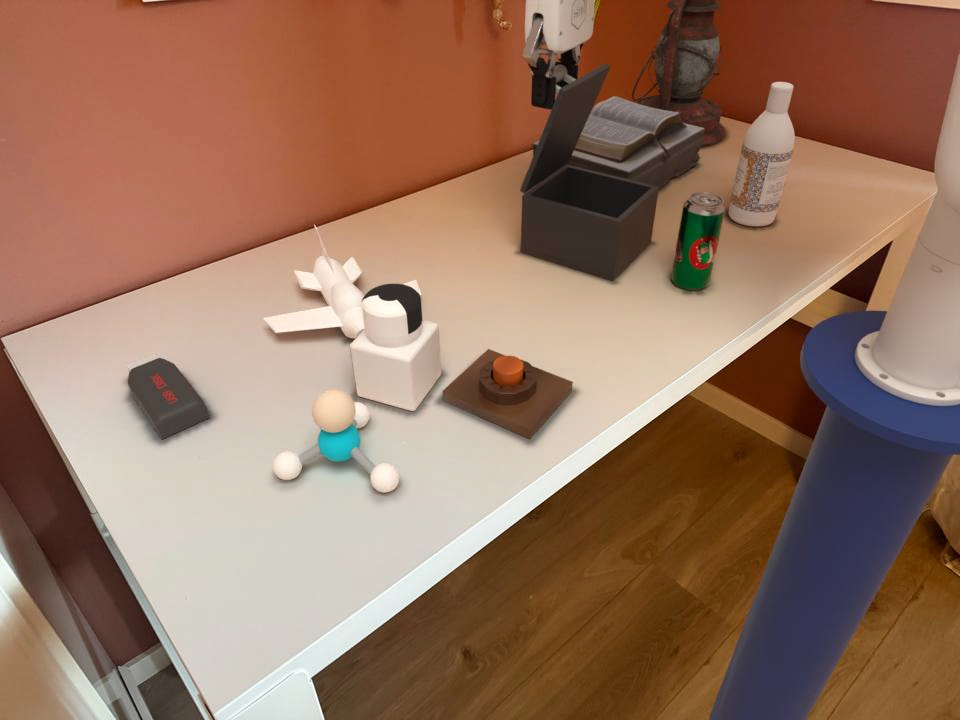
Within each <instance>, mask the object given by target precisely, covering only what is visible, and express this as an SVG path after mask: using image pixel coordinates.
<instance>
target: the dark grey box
mask: <svg viewBox="0 0 960 720" xmlns="http://www.w3.org/2000/svg"><path fill="white" fill-rule="evenodd" d="M659 190H660V189H659V187H658V186H654V185H650V184H646V183H641V182H637V181H633V180H629V179H625V178H621V177H616V176H612V175H608V174H604V173H600V172H596V171H592V170H587V169H583V168H579V167H575V166H571V165H565V166H563V167H562V168H560V169H559V170H558V171H556V172H555V173H553V174H552V175H551V176H549V177H548V178H546V179H545V180H543V181H542V182H540V183H539V184H537V185H536V186H534V187H533V188H532V189H530V190H529V191H527V192H526V193H525V194H524V193H523V194H522V195H521V221H520V222H521V225H520V227H521V228H520V253H521V254H525V255H528V256H532V257H534V258H537V259H541V260H544V261H548V262H551V263H554V264H557V265H560V266H563V267H567V268H570V269H573V270H577V271H579V272H583V273H584V274H585V273H586V274H589V275H592V276H595V277H599V278H602V279H604V280H608V281H611V282H614V281H615V280H616V279H617V278H618V277H619V276H620V275H621V274H622V273H623V272H624V271H625V270H626V269H627V268H628V266H630V265H631V263H633V262H634V260H636V259H637V258H638V256H639V255H641V254H642V253H643V252H644V251H645V250H646V248H647V247H649V245H650V244H651V243H652V237H653V231H654V223H655V216H656V211H657V203H658V197H659Z"/></svg>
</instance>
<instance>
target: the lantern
mask: <svg viewBox="0 0 960 720" xmlns="http://www.w3.org/2000/svg"><path fill="white" fill-rule="evenodd" d="M666 6H667V8H669V9H671V11H670V13H669V16H668V19H667V22H666V24H665V25H664V26H663V28H662V30H661V31H660V36H659V38H658V41H657V44H656V45H655V46H654V47H652V49H651V54H650V56H649V57H648V59H647V61H646V62H645V64H644V66H643V68H642V69H641V71H640V73H639V75H638V77H637V79H636V81H635V83H634V86H633V89H632V91H631V98H632V100H633V102H636V103H637V104H640V105H644V106H647V107H651V108H655V109H660V110H666V111H672V112H678V113H679V114H680V118H681V120H682V122H683V123H685V124H689V125H694V126H698V127H702V128H704V129H705V131H704V134H703V141H702V145H701V148H705V147H709V146H712V145H716V144H718V143H720V142H721V141H723V139H724V138H725V136H726V128H725V127H724V126H723V124H722V123H721V122H720V121H721V117H722V108H721V106H720V105H719V104H717V103H716V102H714V101H713V100H711V99H710V100H709V99H706V98H703V97H701V96H702V95H703V93H704V91H705V89H706V88H707V86H709V84H710V83H711V81H712V80H713V79H714V78H715V76H719V75H720V74H721V68H720V67H721V64H722V60H723V59H722V58H723V52H722V51H723V50H722V47H721V44H720V37H719V35H720V33H719V29H718V27H717V26H716V25H715V23H714V19H715V13H716V11H718V10H721V9H722V7H723V5H722V4H721V3H720V2H717V1H716V0H669V1H668V2H666ZM719 53H720V62H719V64H718V63H717V62H718V58H719ZM653 61H654V74H655V80H656V82H655V83H654V82H653V80H652V77H651V74H650V68H651V65H652V63H653ZM648 65H649V66H648ZM647 66H648V75H649V79H650V82H651V84H652V85H653V86H652V87H651V88H650V89H649V90H647V92H645V93H644V94H643V95H642V96H640V97H638V98H635V92H636V89H637V87H638V84H639V81H640V79H641V77H642V76H643V74H644V72H645V70H646V68H647ZM716 67H717V70H716V71H715V69H716ZM657 86H658V88H657ZM654 89H656V91H657V93H658V94H655V95H650V96H648V95H649V94H650V93H651V92H652V91H653V90H654ZM646 96H647V97H646Z"/></svg>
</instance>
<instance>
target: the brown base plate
mask: <svg viewBox="0 0 960 720" xmlns="http://www.w3.org/2000/svg"><path fill="white" fill-rule="evenodd" d="M501 356H506V355H505V354H503V353H500V352H497V351H495V350H492V349H490V348H488V349H487V350H485V351H484V352H483V353H481V355H480V356H478V358H477V359H475V361H474V362H472V363H471V364H470V365H469V366H468V367H467V368H466V369H464V371H462V372H461V373H460V374H459V375H458V376H457V377H456V378H455V379H454V380H453V381H451V382H450V383H449V384H448V385H447V386H446V387H445V388H444V389H443V390H442V401H443V402H445V403H448V404H450V405H452V406H454V407H456V408H459V409H461V410H464V411H466V412H468V413H470V414H473V415H475V416H476V417H479V418H481V419H483V420H486V421H488V422H490V423H492V424H494V425H497V426H499V427H501V428H504V429H506V430H508V431H510V432H512V433H515V434H517V435H520V436H522V437H524V438H526V439H529V440H531V439H532V437H534V435H535V434H536V433H537V432H538V431H539V429H540V428H541V427H542V426H543V425H544V424H546V423H545V422H546V421H548V420H549V418H550V417H551V416H552V415H553V414H554V412H555V411H556V410H557V409H558V408H559V407H560V406H561V404H563V402H564V401H565V400H566V398H568V396H569V395H570V394H571V393H572V392H573V381H572V380H569V379H566V378H563V377H561V376H559V375H556V374H554V373H551V372H548V371H547V370H543V369H542V368H538V367H536V366H533V365H532V364H531V363H530V362H528V361H526V360H523V359H521V358H519V359H520V360H521V361H522V362H523V380H522V381H521V382H520V383H519V384H518V385H515V386H501V385H499V384H497V383H496V382H495V381H494V379H493V363H494V361H495V360H496V359H497V358H499V357H501Z"/></svg>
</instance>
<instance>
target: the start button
mask: <svg viewBox="0 0 960 720" xmlns="http://www.w3.org/2000/svg"><path fill="white" fill-rule="evenodd" d="M520 359H521V358H519V357H517V356H514V355H505V356H501V357H499V358H497V359H496V360H495V361H494V363H493V379H494V381H495V382H496V383H497V384H499V385H501V386H515V385H518V384H519V383H520V382H521V381H522V380H523V362H522V361H521V360H522V359H521V360H520Z"/></svg>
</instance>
